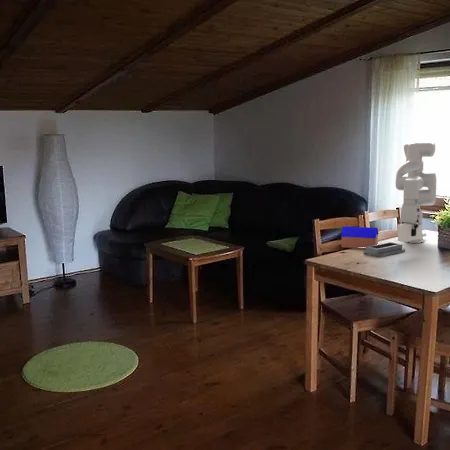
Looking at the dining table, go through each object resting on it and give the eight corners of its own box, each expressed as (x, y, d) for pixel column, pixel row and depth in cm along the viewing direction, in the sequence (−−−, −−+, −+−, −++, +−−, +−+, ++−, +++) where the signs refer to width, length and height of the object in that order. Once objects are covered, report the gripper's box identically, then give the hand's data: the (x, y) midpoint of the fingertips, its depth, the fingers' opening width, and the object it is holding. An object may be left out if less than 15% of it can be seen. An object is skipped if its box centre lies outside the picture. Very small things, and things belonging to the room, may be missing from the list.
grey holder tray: (387, 248, 315) (387, 241, 314) (404, 251, 305) (404, 244, 304) (363, 253, 304) (363, 246, 303) (380, 257, 294) (380, 249, 293)
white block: (415, 236, 301) (416, 220, 300) (421, 237, 298) (422, 221, 296) (397, 240, 293) (398, 224, 291) (403, 242, 290) (404, 225, 288)
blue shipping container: (375, 249, 314) (375, 229, 312) (340, 247, 322) (340, 228, 320) (378, 245, 325) (378, 226, 323) (344, 243, 332) (344, 224, 331)
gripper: (428, 202, 287) (427, 236, 290) (402, 199, 301) (401, 232, 304) (419, 204, 283) (418, 238, 286) (393, 201, 296) (392, 234, 300)
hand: (409, 234), depth 295 cm, fingers closed on white block, 4 cm apart
